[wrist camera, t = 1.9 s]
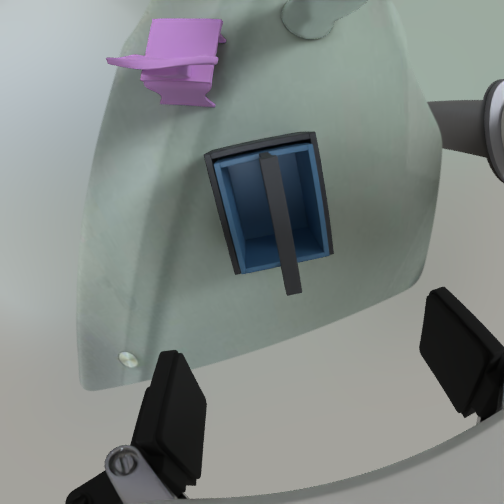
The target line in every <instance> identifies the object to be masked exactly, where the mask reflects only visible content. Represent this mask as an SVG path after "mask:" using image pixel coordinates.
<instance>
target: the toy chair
mask: <svg viewBox="0 0 504 504" xmlns="http://www.w3.org/2000/svg"><path fill="white" fill-rule="evenodd" d="M222 25H223V21H222V20H221V19H153V20H152V24H151V29H150V33H149V39H148V44H147V49H146V54H145V56H142V55H136V54H135V55H130V56H125V57H120V58H106V60H107V62H108V64H111V65H116V66H121V67H126V68H132V69H142V73H141V79H140V80H141V81H143V82H144V86H145V87H146V88H148V89H150V90H152V91H154V92H156V93H158V94H160V95H161V97H162V99H161V101H160V104H172V105H190V106H204V107H215V104H214V103H213V102H211V101H210V100H209V99H208V98H207V97H206V96H205V95H206V94H207V93H208V92H209V91H210V89H211V87H212V78H213V71H214V65H216V64H217V62H218V57H216V53H217V47H218V43H226V39H225V38H224V37H223V36H222V35H221V28H222Z"/></svg>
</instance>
